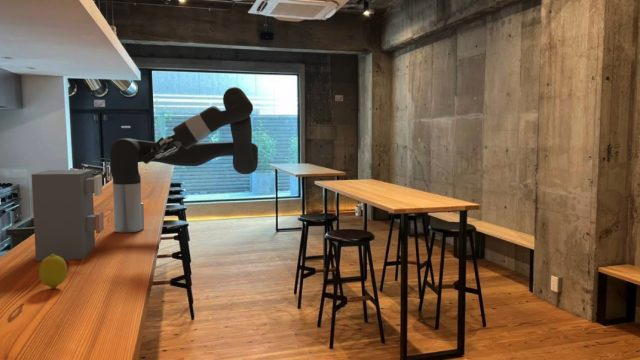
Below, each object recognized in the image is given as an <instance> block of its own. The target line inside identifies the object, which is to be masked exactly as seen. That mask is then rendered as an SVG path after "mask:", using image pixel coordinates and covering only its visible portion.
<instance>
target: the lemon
mask: <svg viewBox="0 0 640 360" xmlns="http://www.w3.org/2000/svg"><path fill="white" fill-rule="evenodd" d="M38 270H39V271H38V275H39V279H40V282H41V283H43V284H44V285H45V286H47V287H50V288H51V289H56V288H57V287H58V286H59V285H61V284H63V283H64V282H65V280H66V278H67V275H68V266H67V263H66V261H65V260H64V259H63V258H61V257H59V256H56V255H54V254H51V255H50V256H48V257H46V258H45V259H44V260H43V261H41V263H40V265H39V268H38Z"/></svg>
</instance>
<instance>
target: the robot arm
mask: <svg viewBox="0 0 640 360" xmlns="http://www.w3.org/2000/svg"><path fill="white" fill-rule="evenodd" d="M222 103H223V107H224V110H221V109H220V108H219V107H217V106H216V105H211V106H209V107H207V108H206V109H204V110H203V111H201V112H199V113H197V114H195V115H193V116H192V117H189V118H188V119H186V120H184V121H183V122H181V123H180V124H178V125H176V126H174V127H173V128H172V131H173V133H174V134H172V135H169V136H166V137H165V138H164V137H163V136H162V137H160V138H159V139H158V140H157V141H148V140H140V139H135V138H128V137H127V138H119V139H116V140H115V141H113V143H112V144H111V146H110V149H109V163H110V164H109V166H110V174H111V177H112V189H113V190H112V196H113V216H114V217H113V219H114V224H113V225H114V232H115V233H125V234H126V233H135V232H140V231H142V230H144V229H145V213H144V212H145V208H144V207H145V206H144V202H142V186H141V185H142V181H141V178H142V177H141V174H140V172H139V171H140V170H139V163H143V164H145V165H148V164H149V163H161V164H166V165H170V166H177V167H178V166H179V167H199V166H202V165H204V164H206V163H208V162H211V161H212V160H215V159H216V158H219V157H229V156H231V157H232V166H233V169H234V171H235V172H237V173H239V174H241V175H250V174H253V173H254V172H255V171H256V170H257V169H258V164H259V148H258V145H256V144H255V143H253V129H252V127H253V126H252V119H251V118H252V117H251V114H253V112H254V106H253V103H252V102H251V101H250V99H249V98H248V96H247V95H246V94H245V92H244V91H243V90H242V89H241V88H240V87H237V86H233V87H229V88H228V89H227V90H225V91H224V93H223V97H222ZM228 125H229V127H230V133H231V137H232V141H224V142H223V141H222V142H217V141H216V142H211V141H210V142H208V141H203V140H204V139H206V138H207V137H208V136H209V135H211V134H212V133H214V132H216V131H218V130H219V129H221V128H222V127H225V126H228Z"/></svg>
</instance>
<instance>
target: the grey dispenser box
mask: <svg viewBox="0 0 640 360" xmlns="http://www.w3.org/2000/svg"><path fill="white" fill-rule="evenodd" d="M85 178H93V170H92V169H52V170H51V169H48V170H44V171H43V170H42V171H40V172H35V173H31V190H32V210H33V230H34V246H35V247H34V249H35V261H36V262H42V261H43V260H44V259H45V258H46V257H48V256H50V255H51V254H54V255H56V256H59V257H61V258H63V259H64V261H65V260H84V259H85V258H86V257H87V256H89V254H90V253H91V252H92V251H93V250H94V248H95V247H96V238H95V237H96V235H95V234H96V231H95V230H91V231H87V224H86V216H87V215H95V212H94V211H95V210H94V193H85Z"/></svg>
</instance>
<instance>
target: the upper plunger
mask: <svg viewBox="0 0 640 360" xmlns="http://www.w3.org/2000/svg"><path fill="white" fill-rule="evenodd" d="M85 193H93V195H94V196H95V197H99V196H101V195H102V194H103V175H102V174H98V175H95V176H93V177H92V178H85Z"/></svg>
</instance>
